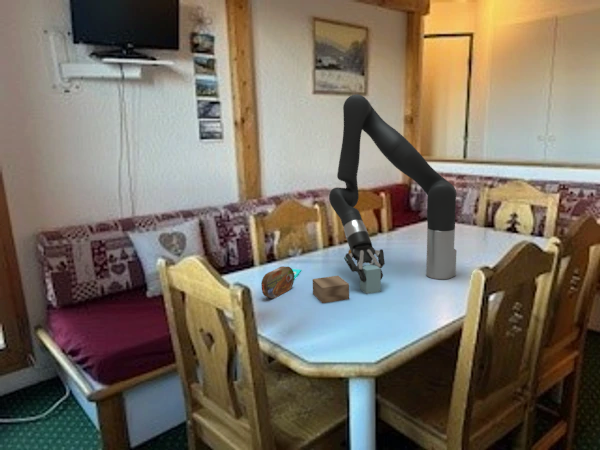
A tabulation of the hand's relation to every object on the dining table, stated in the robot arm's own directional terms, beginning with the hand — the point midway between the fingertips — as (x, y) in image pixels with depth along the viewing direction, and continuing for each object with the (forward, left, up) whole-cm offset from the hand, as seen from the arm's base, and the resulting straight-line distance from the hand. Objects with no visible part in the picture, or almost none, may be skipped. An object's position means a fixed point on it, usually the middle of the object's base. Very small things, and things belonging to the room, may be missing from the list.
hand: (372, 280), depth 154 cm
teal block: (0, -2, -4) cm, 5 cm away
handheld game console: (+23, -26, -5) cm, 35 cm away
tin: (+29, -11, -4) cm, 31 cm away
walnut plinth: (+14, -2, -4) cm, 15 cm away
